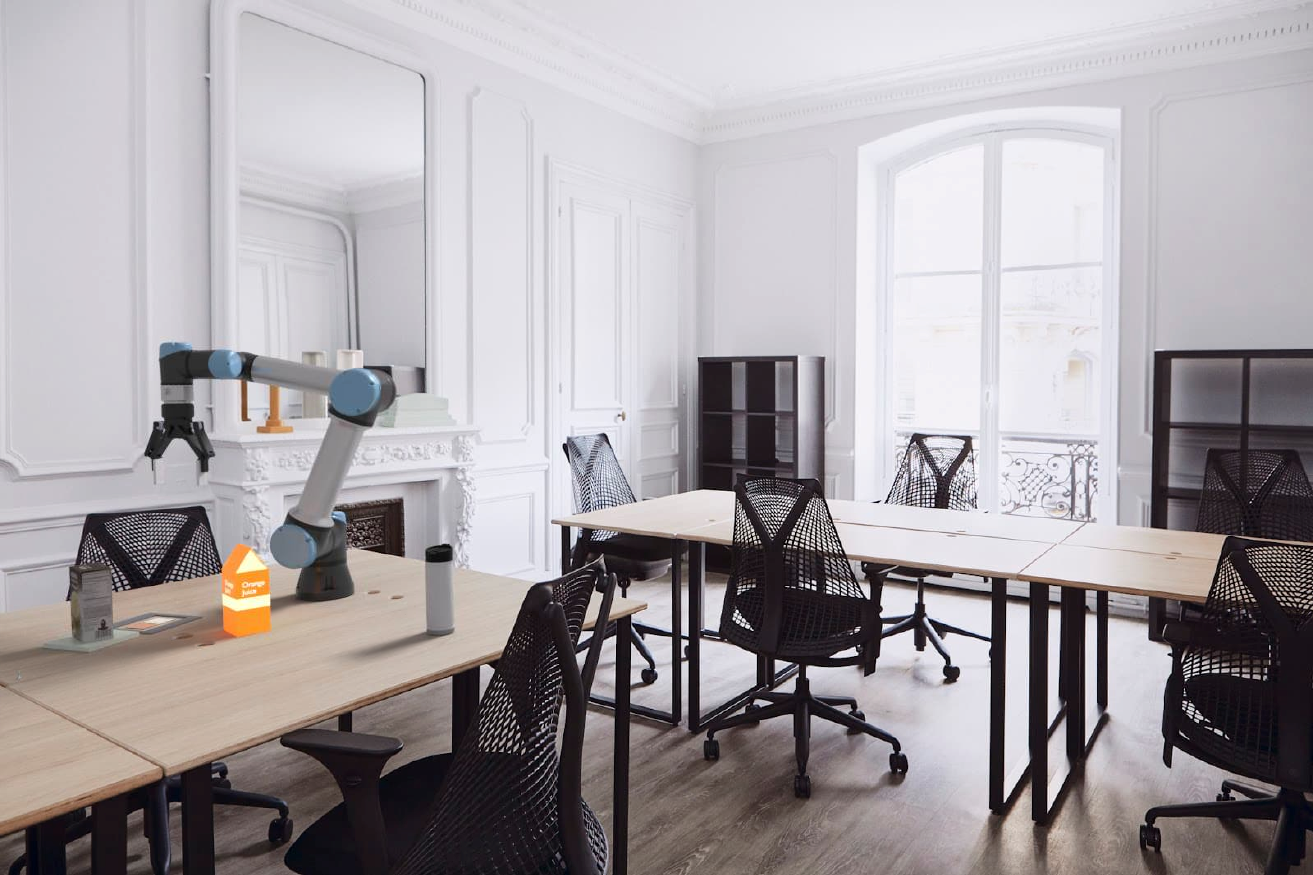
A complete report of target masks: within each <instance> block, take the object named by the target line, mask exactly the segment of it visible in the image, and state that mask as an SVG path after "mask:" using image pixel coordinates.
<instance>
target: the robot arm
mask: <svg viewBox="0 0 1313 875" xmlns="http://www.w3.org/2000/svg"><path fill="white" fill-rule="evenodd" d="M158 351H159V353H158V354H159V355H158V356H159V357H158V363H159V376H160V401H161V402H163V403H161V405H160V409H161V410H160V413H161V414H160V415H161V418H163V420H158V421H157V420H156V421H155V420H154V421H153V422H152V431H151V434H150V436H149V439H148V442H147V444H146V448H145V450H144V452H143V455H144V457H148V458H149V459H150V460H151V470H152V471H151V472H153V485H154V486H155V485H162V484H166V483H165V458H163V454H165V452H166V450H167V448H169V446H170V444H171V443H172V441H174V440H175V439H177V440H180V439H181V440H183V441H185V442H186V443H187V445H189V447H190V448H191V450H192V451H193V453H194V454H195V455H196V457H197V459H196V460H195V466H196V468H195V469H196V486H199V487H201V486H207V485H208V473H209V471H210V469H209V467H210V466H209V460H210V459H211V458H215V457H216V453H215V450H214V448H213V446H212V444H211V441H210V438H209V437H208V435H207V432H206V429H205V423H204V421H203V420H200V421H199V420H198V421H193V418H194V417H195V404H194V403H193V401H195V397H194V392H195V391H194V380H222V381H223V380H225V381H226V380H235V381H237V380H238V381H243V382H250V383H256V384H262V385H268V386H272V387H278V388H282V389H287V390H288V389H289V390H293V391H299V392H304V393H311V394H314V395H315V394H316V395H321V396H325V397H328V398H329V400H330V403H329V406H328V409H327V414H328V416H329V418H330V421H329V424H328V426H327V428H326V431H325V434H324V437H323V440H322V442H321V445H320V447H319V450H318V451H317V454H316V457H315V460H314V462H313V464H312V467H311V469H310V471H309V475H308V477H307V480H306V482H305V485H304V487H303V490H302V493H301V495H300V497H299V499H298V500H299V501H298V502H297V504H296V505H295V506H292V507H290V508H289V509H288V511H287V513H286V516H285V518H284V520H283V522H282V525H280V526H278V527H277V528H276V529H275V530H274V532H272V534H271V536H270V538H269V539H270V540H269V550H270V553H271V555H272V557H273V560H275V562H277V563H278V564H279V565H280V566H282V567H284V568H286V569H290V570H298V569H301V570H300V573H299V577H298V580H297V584H296V586H295V598H296V599H298V600H303V601H327V600H335V599H340V598H346V597H348V596H352V595H353V594H354V593H355V583H354V581H353V577H352V575H351V572H350V569H349V567H348V550H347V549H348V548H347V547H348V545H347V540H348V539H347V525H348V522H347V519H346V513H345V512H344V511H339V510H338V511H336V510H334V509H335V507H336V503H337V501H338V498H339V497H340V493H341V490H342V488H343V486H344V484H345V481H346V478H347V476H348V474H349V471H350V468H351V465H352V464H353V461H354V458H355V456H356V453H357V450H358V448H359V446H360V443H361V441H362V438H363V435H364V433H365V432H366V431H368V430H371V429H372V428H373V427H374V425H375V422H376V419H377V417H378V414H379V413H382V412H385V411H387V410H388V409H390V408H391V407H392V405H394V403H395V400H396V399H397V394H398V393H397V386H396V383H395V381H394V380H393V377H392V376H391V375H390V374H388V373H387V372H384V371H383V370H380V369H374V368H372V369H370V368H362V367H355V368H354V367H353V368H350V369H346V370H343V369H337V368H332V367H327V366H319V365H315V364H310V363H304V362H300V361H299V362H298V361H293V360H289V359H288V360H287V359H282V358H276V357H271V356H266V355H259V354H255V353H252V352H247V351H235V350H232V349H223V348H220V349H199V350H197V349H193V346H192V344H191V343H190V342H184V341H183V342H181V341H180V342H178V341H177V342H175V341H174V342H173V341H169V342H162V343H161V344H160V345H159V350H158Z"/></svg>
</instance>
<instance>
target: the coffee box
mask: <svg viewBox="0 0 1313 875" xmlns="http://www.w3.org/2000/svg"><path fill="white" fill-rule="evenodd" d="M68 575H69V576H68V577H69V595H70V596H69V597H70V599H69V600H70V616H71V618H70V620H71V635H72V636H73V637H75V638H76V639H77V640H79V641H80V642H82V643H83V644H85V643H90V642H95V641H101V640H106V639H111V638H114V633H113V623H114V613H113V612H114V611H113V606H114V605H113V581H112V580H113V579H112V567H111V566H108V565H106V564H104V563H102V562H101V561H98V562H92V563H91V562H90V563H84V564H77V565H76V564H75V565H71V566H68Z"/></svg>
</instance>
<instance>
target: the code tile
mask: <svg viewBox="0 0 1313 875" xmlns="http://www.w3.org/2000/svg"><path fill="white" fill-rule="evenodd" d="M152 617H155V618H153V619H150V620H147V619H149V618H152ZM163 617H167V618H163ZM174 618H179V619H178V620H175V619H174ZM199 619H203V616H198V615H185V614H173V613H172V614H171V613H161V612H160V613H159V612H147V613H143V614H140V615H137V616H133V617H129V618H126V619H124V620H120V621H118V622H113V630H125V631H137V632H139V634H142V635H154V634H156V633H161V632H163V631H165V630H170V629H172V628H175V627H178V626H182V625H185V624H188V623H190V622H194V621H196V620H199ZM143 620H145V621H143ZM173 620H175V621H173ZM140 621H143V622H140ZM136 622H140V623H136ZM167 622H169V623H167ZM133 623H136V624H133ZM164 623H165V624H164ZM130 624H133V625H130ZM161 624H162V625H161ZM126 625H130V626H126ZM157 625H158V626H157ZM159 625H160V626H159ZM123 626H126V627H125V628H120V627H123ZM154 626H155V627H154ZM149 628H150V629H149ZM145 629H146V630H145Z"/></svg>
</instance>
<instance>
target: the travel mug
mask: <svg viewBox="0 0 1313 875" xmlns="http://www.w3.org/2000/svg"><path fill="white" fill-rule="evenodd" d="M424 550H425V551H424V555H425V560H424V562H425V565H424V568H425V570H424V571H425V572H424V574H425V577H424V578H425V614H426V615H425V620H426V622H425V623H426V633H427V634H428V635H430V636H446V635H450V634H453V633H454V632H455V587H454V584H455V582H454V556H453V555H454V553H453V552H454V549H453V546H452V545H451V544H450V543H441V544H438V545H437V544H436V545H432V546H428V547H426V549H424Z"/></svg>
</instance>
